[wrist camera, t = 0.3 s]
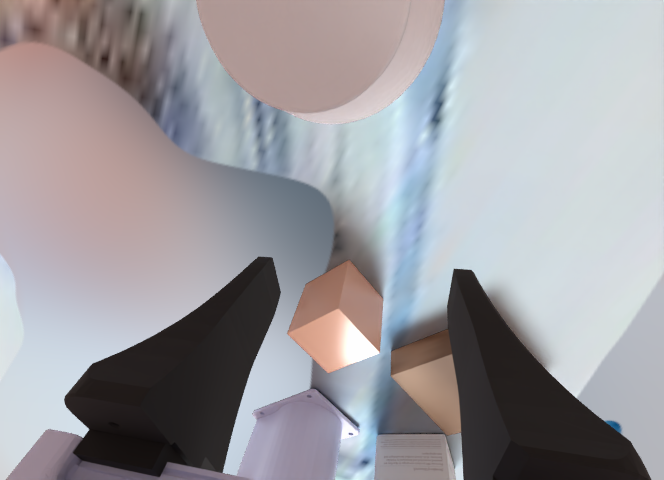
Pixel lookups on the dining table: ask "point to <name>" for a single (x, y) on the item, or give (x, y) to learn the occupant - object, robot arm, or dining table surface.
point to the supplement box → (413, 457)
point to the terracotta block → (338, 318)
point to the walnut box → (430, 379)
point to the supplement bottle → (323, 51)
